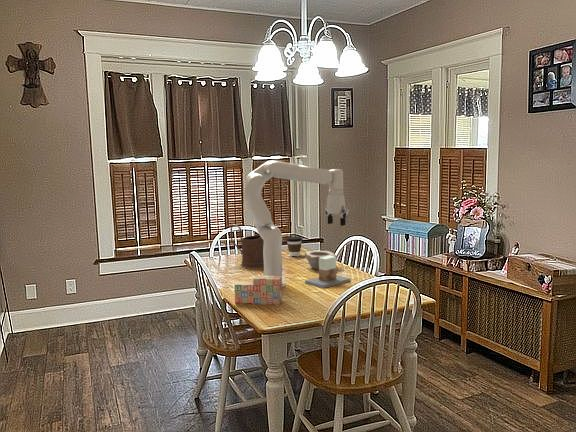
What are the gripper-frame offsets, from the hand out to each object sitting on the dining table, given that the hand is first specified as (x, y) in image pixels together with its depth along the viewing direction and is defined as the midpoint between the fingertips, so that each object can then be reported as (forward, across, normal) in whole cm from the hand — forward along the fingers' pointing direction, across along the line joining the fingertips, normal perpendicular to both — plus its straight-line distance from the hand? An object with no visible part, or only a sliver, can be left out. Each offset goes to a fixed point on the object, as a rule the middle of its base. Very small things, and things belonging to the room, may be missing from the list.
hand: (336, 224), depth 279 cm
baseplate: (+30, 0, -7) cm, 31 cm away
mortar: (+31, -27, +13) cm, 43 cm away
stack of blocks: (+31, +4, -55) cm, 63 cm away
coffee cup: (+31, -66, +25) cm, 77 cm away
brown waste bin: (+31, -64, -12) cm, 72 cm away
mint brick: (+23, 0, -7) cm, 24 cm away
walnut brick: (+29, 0, -7) cm, 30 cm away
